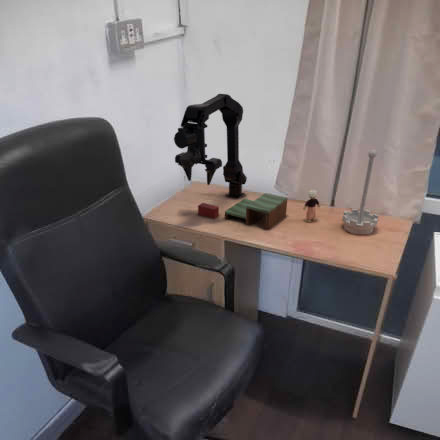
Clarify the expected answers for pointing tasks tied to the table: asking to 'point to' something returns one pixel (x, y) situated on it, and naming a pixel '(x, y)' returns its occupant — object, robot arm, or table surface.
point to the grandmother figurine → (311, 206)
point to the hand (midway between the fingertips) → (199, 182)
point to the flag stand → (362, 209)
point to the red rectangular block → (208, 210)
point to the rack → (260, 209)
